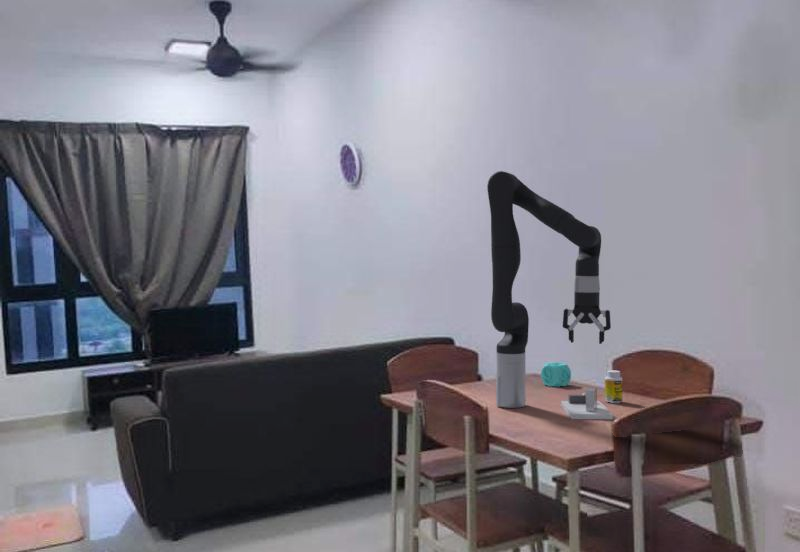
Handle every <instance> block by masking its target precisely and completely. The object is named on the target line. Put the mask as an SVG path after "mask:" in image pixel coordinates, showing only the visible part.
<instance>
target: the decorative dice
mask: <svg viewBox="0 0 800 552" xmlns="http://www.w3.org/2000/svg"><path fill="white" fill-rule="evenodd" d="M540 376H541V380H542V383H543V384H544V385H545V386H546V385H547V386H546V387H550V386H554V387H553V388H561V387H560V386H565V387H567V386H568V385H569V384H570V382H571V378H572V372H571V368H570V366H568V364H567V363H565V362H546V363H544V365H543V366H542V367H541V371H540Z"/></svg>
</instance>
